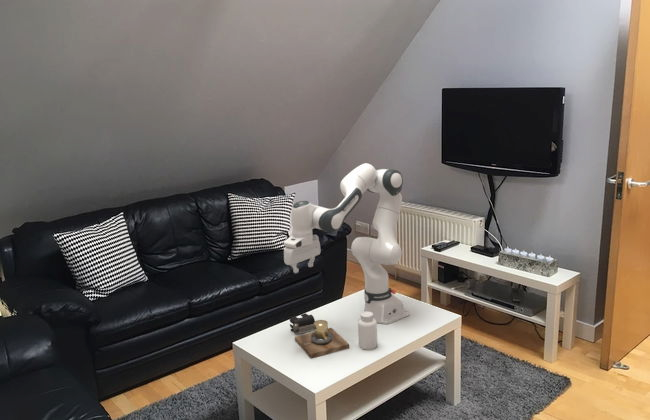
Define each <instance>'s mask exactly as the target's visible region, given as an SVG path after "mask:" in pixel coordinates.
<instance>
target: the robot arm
mask: <svg viewBox="0 0 650 420" xmlns="http://www.w3.org/2000/svg"><path fill="white" fill-rule="evenodd" d="M403 185H404V179H403V174H402V173H401V171H399V170H397V169H395V168H387V169H386V168H380V169H376V168H375V166H373V165H372V164H370V163H367V162H365V163H362V164H360V165H358V166H356V167H355V168H354V169H352V170H351V171H349V172H348V173H347V175H345V176H344V177H343V178H342V180H341V181H340V185H339V189H340V191H341V193H342V195H343V196H344V198H343V200H342V201H341V202H340V203H339V204H338V205H337V206H336V207H334V208H327V207H324V206H320V205H316V204H313V203H311V201H308V200H301V201H296V202H295V203H293V205H292V208H291V212H290V213H291V214H290V215H291V216H290V217H291V225H292V226H291V227H292V230H291V235H290V236H289V237H288V238H286V239H285V240H284V242H283V246H284V249H283V261H284V264H285V265H287V266H290V267H292V269H293V270H292V271H293V273H294V274H298V273H299V269H300V268H298V267H297V265H298V264H299V263H300V262H303V261H306V260H308V259H309V261H308V262H307V266H308V268H312V267H314V262H315V259H316V258H315V257H317V256H319V255H320V254H321V252H322V251H321V250H322V249H321V243H320V238H319V236H318V235H317V234H313V233H314V232H313V229H318V230H321V231H323V232H325V233H328V234H334V233H336V232H338V231H339V230H340V229H341V227H342V225H343V224H344V222H345V220H346V219H347V218H348V216H349V215H350V214H351V213H352V211H354V209H355V208H356V207H357V205H358V204H359V203H360V201H361V200H362V198H363V194H364V193H365V192H369V193H373V194H375V193H377V194H379V201H378V204H377V205H376V206H377V207H376V209H375V213H374V215H373V216H374V217H373V219H372V227H373V228H374V229H375V230H376V232H377V238H374V237H370V236H359V237H357V236H356V238H355V239H354V240H353V241H352V243H351V248H350V249H351V254H352V255H353V256H354V257H355V259H356V260H357V261H358V262H359V264H360V267H361V269H362V271H363V275H364V286H365V288H364V291H363V293H364V294H363V295H364V297H363V298H364V308H363V312H372V313H373V318H374V319H375V320H376V322H377V324H383V325H389V324H391V323H393V322H397V321H399V320H401V319H404V318H406V317H409V316H410V312H409V310H408V309H407V308H406V307H405V306H404V303H403V301H402V300H401V299H399V298H398V297H397V296H395V295H396V294H397V290H396V289H394V288H391V287H389V273H388V271H387V270H386V269H385V268H384V267H383V266H382V265H386V266H390V265H391V266H393V265H397V264H398V263H399V262H400V260H401V258H402V253H403V252H402V248H401V246H400V245H399V243H398V241H397V238H396V229H397V224H398V220H399V217H400V212H401V209H402V204H403V203H402V202H403V196H402V194H401V191H402V188H403Z"/></svg>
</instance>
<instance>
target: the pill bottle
mask: <svg viewBox="0 0 650 420" xmlns="http://www.w3.org/2000/svg"><path fill="white" fill-rule="evenodd" d="M377 324H378V323H377V322H376V320H375V319H374V318H373V313H372V312H364V311H363V312H361V313H360V319H358V322H357V328H358V329H357V330H358V331H357V332H358V335H357V336H358V346H359V348H360V349H362V350H366V351H367V350H368V351H369V350H373V349H374V350H375V349H376V347H377V346H378V329H377V327H378V326H377Z"/></svg>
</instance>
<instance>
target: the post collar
mask: <svg viewBox="0 0 650 420" xmlns="http://www.w3.org/2000/svg"><path fill="white" fill-rule="evenodd" d="M331 341H332V335H331V334H330V333H329V332H328V337H327V339H326V340H324V339H318V338H316V337H315V336H314V333H313V334H312V335H311V342H312V343H313V344H315V345H326V344H329V343H330V342H331Z"/></svg>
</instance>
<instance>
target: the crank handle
mask: <svg viewBox="0 0 650 420" xmlns="http://www.w3.org/2000/svg"><path fill="white" fill-rule="evenodd" d="M292 325H293V332H292V333H293V334H294V335H298V334H302V333H306V332H311V331H313V332H314V336H315V337H316V338H318V339H324V340H326V339H327V337H328V328H329V325H328V321H327V320H325V319H318V320H315V322H314V324H310V325H306V326H302V327H299V324H298V323H295V324H292Z"/></svg>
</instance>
